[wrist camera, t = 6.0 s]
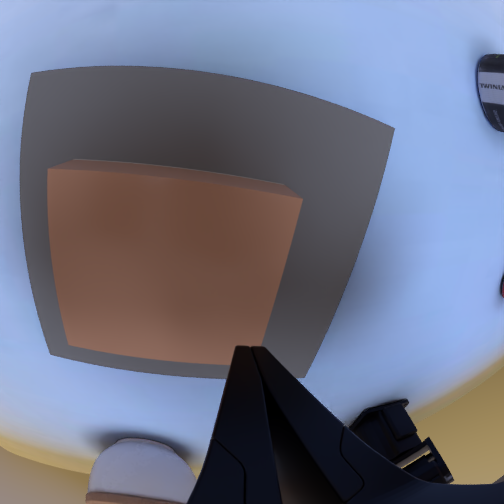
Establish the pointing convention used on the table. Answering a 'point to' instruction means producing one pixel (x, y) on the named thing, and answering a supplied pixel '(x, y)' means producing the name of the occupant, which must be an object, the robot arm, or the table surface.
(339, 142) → the mat
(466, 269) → the table surface
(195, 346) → the tile
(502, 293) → the beer can
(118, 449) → the lidded jar
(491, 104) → the pill bottle
